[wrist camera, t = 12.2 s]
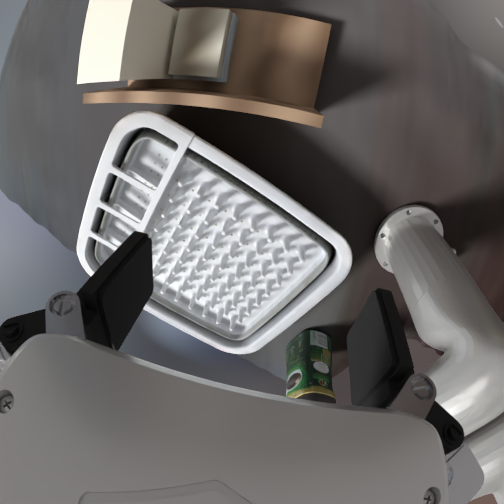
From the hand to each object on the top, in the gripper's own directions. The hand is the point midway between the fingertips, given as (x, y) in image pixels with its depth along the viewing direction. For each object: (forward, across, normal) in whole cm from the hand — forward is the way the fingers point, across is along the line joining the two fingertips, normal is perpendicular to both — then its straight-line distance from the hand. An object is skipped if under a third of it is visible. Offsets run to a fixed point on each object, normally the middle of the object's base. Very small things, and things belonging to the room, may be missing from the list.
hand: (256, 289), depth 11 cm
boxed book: (+26, +18, -12) cm, 34 cm away
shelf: (+29, +10, -12) cm, 33 cm away
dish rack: (+30, +9, +16) cm, 35 cm away
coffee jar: (+31, -14, +37) cm, 50 cm away
